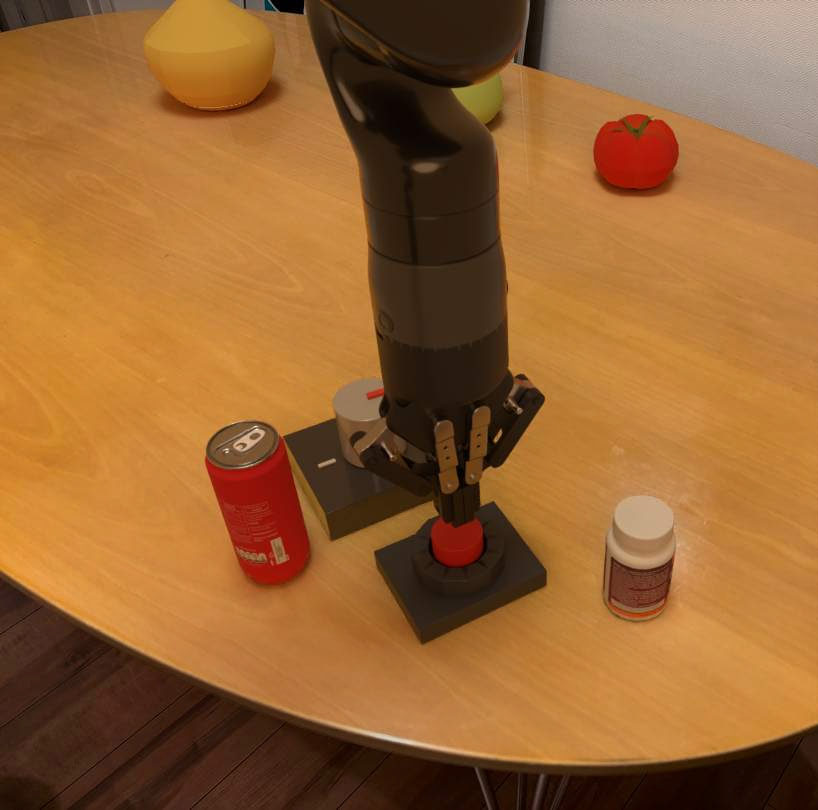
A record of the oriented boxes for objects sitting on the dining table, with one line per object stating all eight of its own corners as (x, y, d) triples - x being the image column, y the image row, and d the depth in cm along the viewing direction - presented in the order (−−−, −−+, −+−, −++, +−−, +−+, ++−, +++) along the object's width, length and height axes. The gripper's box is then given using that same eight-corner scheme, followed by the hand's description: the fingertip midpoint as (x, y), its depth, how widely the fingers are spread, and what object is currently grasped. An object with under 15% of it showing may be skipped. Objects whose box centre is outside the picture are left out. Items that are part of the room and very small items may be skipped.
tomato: (623, 154, 120) (627, 100, 115) (691, 179, 114) (698, 122, 109) (573, 181, 113) (575, 125, 109) (642, 208, 108) (647, 150, 103)
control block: (421, 645, 60) (417, 614, 58) (376, 566, 66) (370, 534, 63) (547, 585, 64) (547, 554, 62) (494, 515, 70) (493, 483, 67)
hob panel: (331, 541, 67) (324, 512, 65) (288, 462, 74) (281, 434, 72) (471, 483, 72) (469, 455, 70) (419, 414, 79) (416, 387, 77)
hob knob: (353, 477, 68) (344, 425, 65) (333, 436, 72) (323, 386, 69) (416, 455, 70) (410, 404, 67) (393, 417, 74) (386, 367, 70)
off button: (446, 575, 61) (444, 558, 60) (424, 540, 63) (422, 524, 62) (492, 554, 62) (491, 538, 61) (469, 521, 65) (468, 505, 64)
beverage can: (226, 568, 65) (184, 450, 58) (279, 524, 69) (246, 407, 61) (275, 600, 63) (238, 482, 55) (327, 554, 66) (299, 436, 59)
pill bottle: (680, 609, 63) (694, 530, 57) (620, 631, 61) (628, 552, 56) (648, 561, 66) (658, 482, 61) (591, 581, 65) (595, 501, 59)
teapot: (475, 85, 138) (471, -3, 130) (544, 112, 131) (545, 19, 122) (362, 127, 126) (350, 32, 118) (432, 158, 118) (423, 59, 110)
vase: (141, 123, 127) (98, -20, 115) (180, 77, 141) (145, -55, 129) (269, 123, 127) (239, -20, 115) (294, 76, 141) (271, -55, 129)
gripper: (511, 245, 54) (515, 451, 66) (304, 304, 49) (346, 518, 60) (576, 303, 50) (569, 516, 61) (353, 376, 44) (389, 594, 55)
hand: (457, 516), depth 60 cm, fingers closed
